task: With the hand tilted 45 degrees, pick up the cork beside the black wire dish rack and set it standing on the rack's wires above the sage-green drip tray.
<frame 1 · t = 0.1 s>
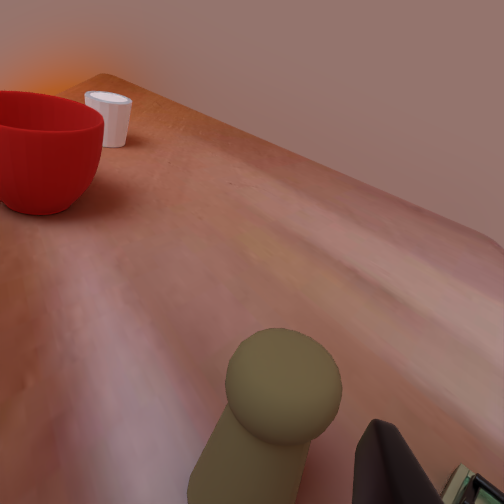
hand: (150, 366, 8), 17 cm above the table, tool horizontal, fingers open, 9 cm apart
shot glass: (106, 142, 66), on the table
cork: (239, 496, 23), on the table
ceramic cup: (26, 196, 46), on the table
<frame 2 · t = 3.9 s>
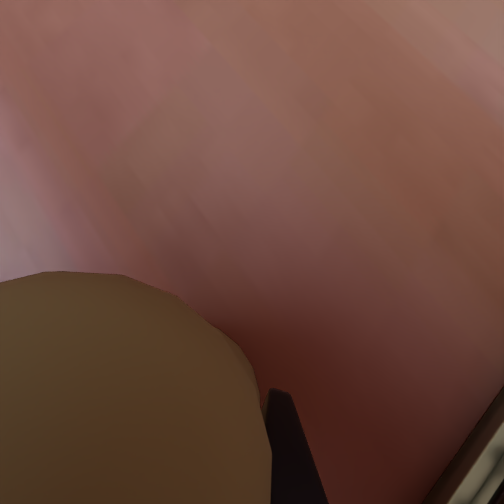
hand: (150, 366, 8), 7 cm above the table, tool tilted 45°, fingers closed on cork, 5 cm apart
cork: (174, 405, 14), on the table, touching gripper
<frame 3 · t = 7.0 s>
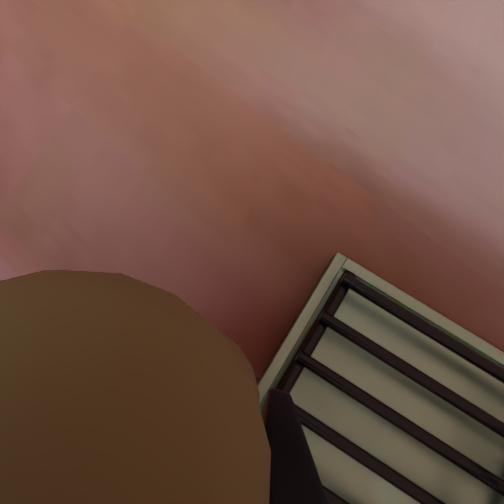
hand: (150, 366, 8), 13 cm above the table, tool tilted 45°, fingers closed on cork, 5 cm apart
dish rack: (376, 464, 20), on the table
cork: (174, 404, 14), point 6 cm above the table, touching gripper
when the fingers open (9 cm above the table, at t = 10.2 s): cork stays where it is, resting on dish rack.
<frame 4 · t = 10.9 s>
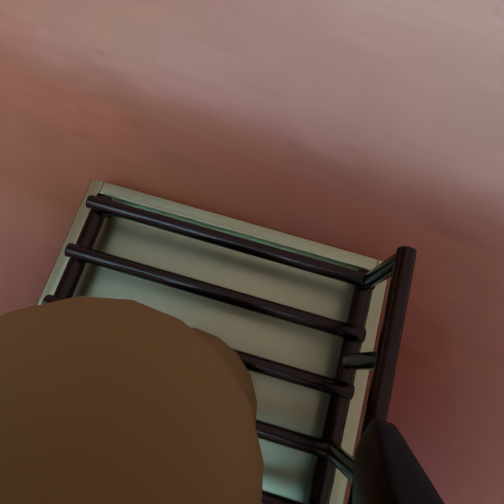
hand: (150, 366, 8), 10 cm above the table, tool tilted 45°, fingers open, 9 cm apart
dish rack: (185, 399, 17), on the table
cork: (175, 409, 15), point 2 cm above the table, touching dish rack
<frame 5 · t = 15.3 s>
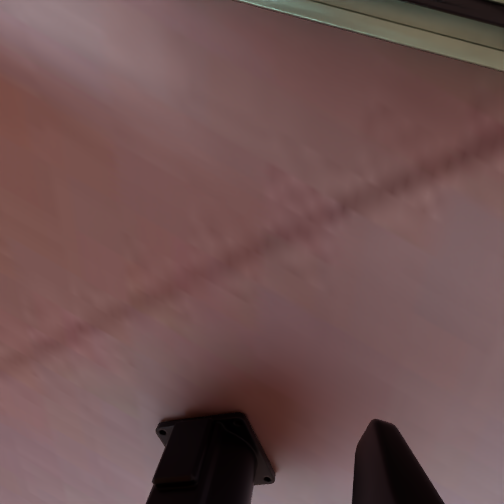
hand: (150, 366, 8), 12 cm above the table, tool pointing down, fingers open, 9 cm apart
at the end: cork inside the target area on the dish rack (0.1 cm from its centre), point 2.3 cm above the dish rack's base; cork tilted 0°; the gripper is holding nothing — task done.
